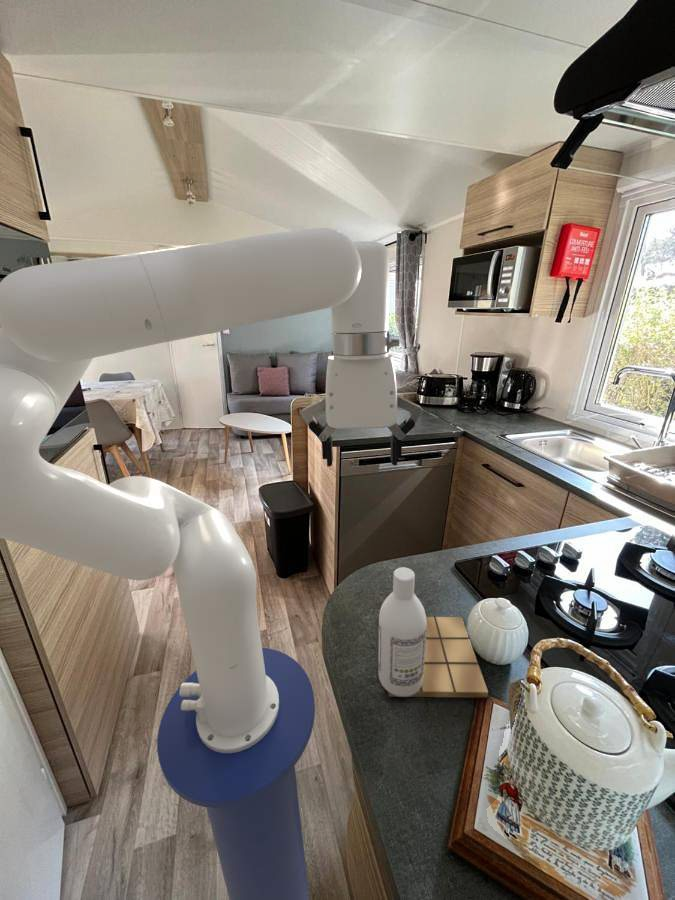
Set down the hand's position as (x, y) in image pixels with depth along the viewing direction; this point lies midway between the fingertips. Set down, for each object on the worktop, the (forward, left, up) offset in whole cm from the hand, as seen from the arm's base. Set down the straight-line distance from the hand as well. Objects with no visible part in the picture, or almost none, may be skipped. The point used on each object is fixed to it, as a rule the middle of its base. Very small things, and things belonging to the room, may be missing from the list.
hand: (361, 462), depth 57 cm
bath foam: (+6, -9, -33) cm, 35 cm away
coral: (+22, -19, -34) cm, 45 cm away
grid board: (+11, -4, -34) cm, 36 cm away
